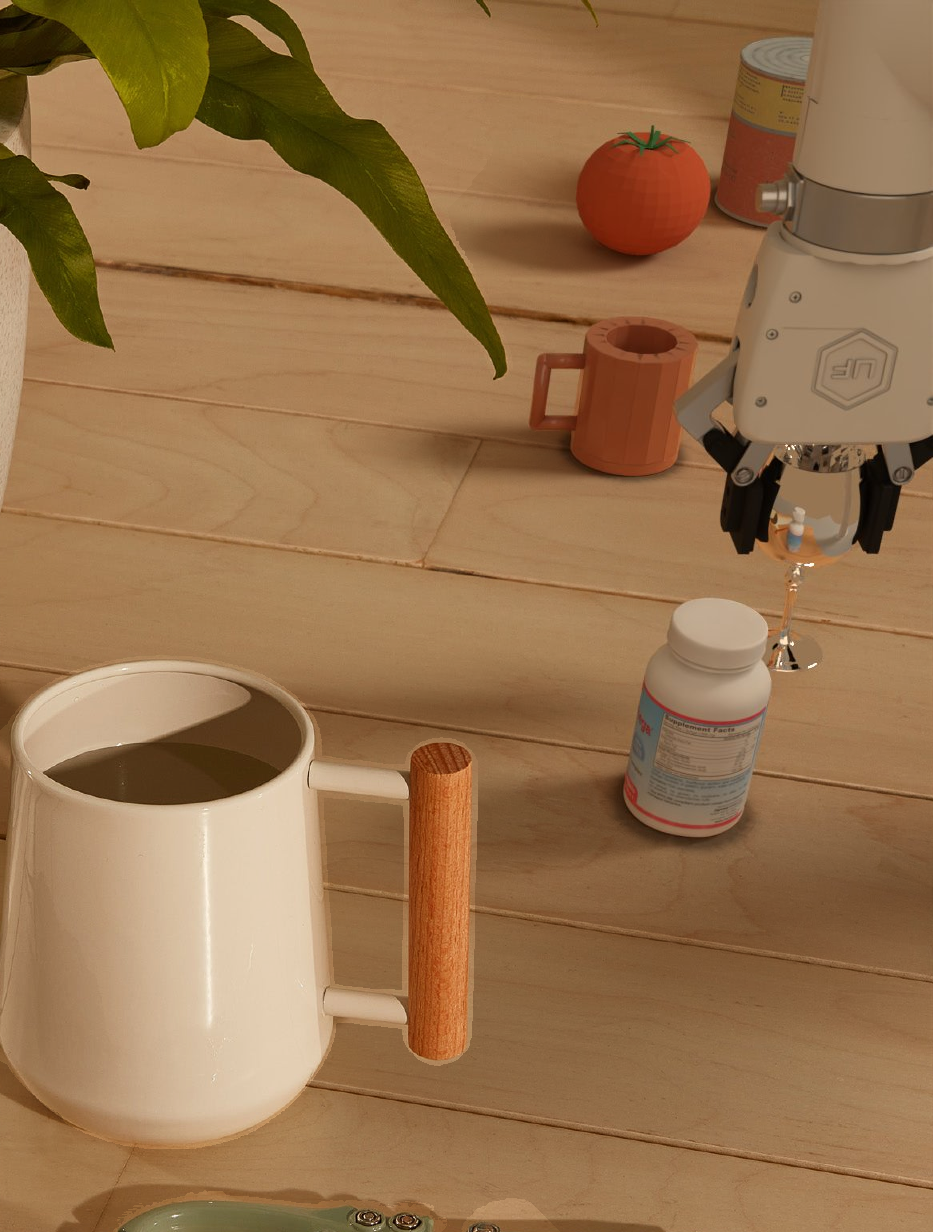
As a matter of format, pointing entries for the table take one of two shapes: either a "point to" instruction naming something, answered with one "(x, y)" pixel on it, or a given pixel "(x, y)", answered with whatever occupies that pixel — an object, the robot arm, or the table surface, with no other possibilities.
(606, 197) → the tomato
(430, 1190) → the table surface
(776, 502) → the wineglass
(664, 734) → the pill bottle
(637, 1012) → the table surface
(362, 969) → the table surface
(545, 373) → the mug
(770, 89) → the canned food
